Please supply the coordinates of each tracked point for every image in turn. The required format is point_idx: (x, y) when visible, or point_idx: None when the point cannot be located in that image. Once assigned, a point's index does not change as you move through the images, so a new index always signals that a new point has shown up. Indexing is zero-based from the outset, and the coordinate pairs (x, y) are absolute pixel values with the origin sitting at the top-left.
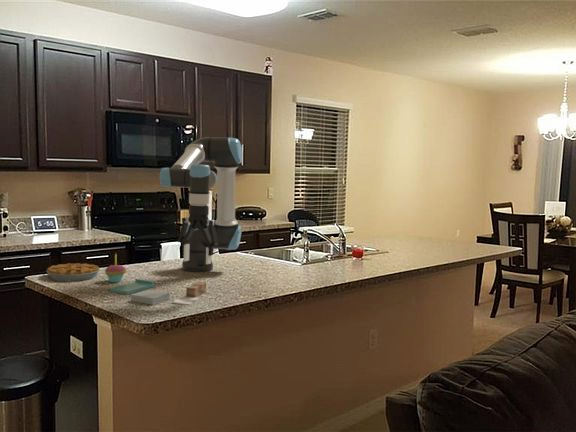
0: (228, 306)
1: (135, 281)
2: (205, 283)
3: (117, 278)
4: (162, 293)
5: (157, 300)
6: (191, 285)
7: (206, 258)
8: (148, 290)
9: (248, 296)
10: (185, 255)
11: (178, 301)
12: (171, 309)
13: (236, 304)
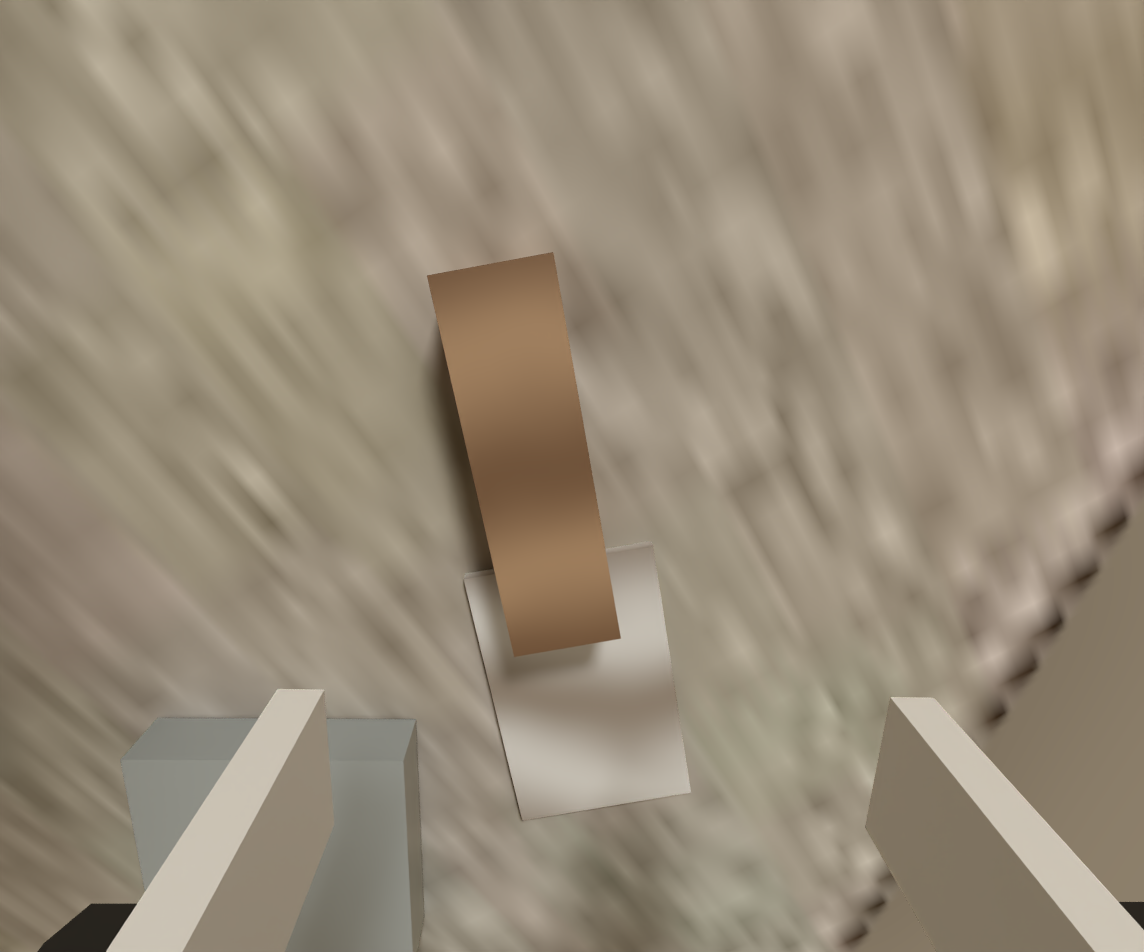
0: (1019, 650)
1: None
2: (556, 277)
3: None
4: (361, 812)
5: (417, 889)
6: (487, 520)
7: (944, 938)
8: (156, 788)
9: (1109, 179)
10: (285, 943)
11: (559, 776)
12: (625, 931)
13: (1070, 556)
